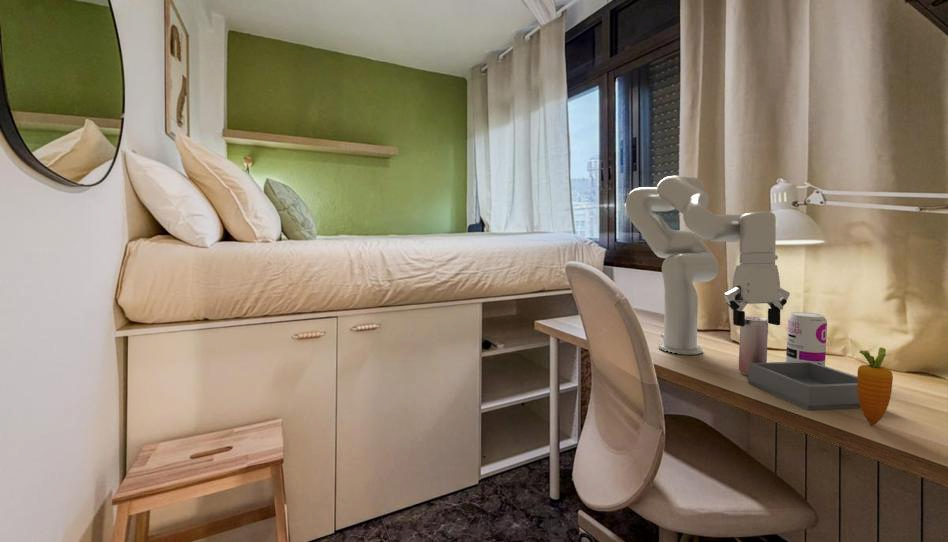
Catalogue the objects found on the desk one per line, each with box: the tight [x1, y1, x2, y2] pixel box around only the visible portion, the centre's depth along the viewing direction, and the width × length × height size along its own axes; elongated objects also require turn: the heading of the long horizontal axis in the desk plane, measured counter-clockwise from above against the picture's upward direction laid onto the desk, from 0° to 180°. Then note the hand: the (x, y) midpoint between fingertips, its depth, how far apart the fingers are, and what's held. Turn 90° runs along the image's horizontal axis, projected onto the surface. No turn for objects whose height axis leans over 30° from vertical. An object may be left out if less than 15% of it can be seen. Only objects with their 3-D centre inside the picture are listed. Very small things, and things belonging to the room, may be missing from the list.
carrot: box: [856, 346, 894, 426], centre depth 73 cm, size 5×5×15 cm
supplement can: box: [785, 311, 828, 366], centre depth 106 cm, size 8×8×15 cm
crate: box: [747, 361, 861, 411], centre depth 88 cm, size 16×16×5 cm
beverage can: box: [738, 316, 769, 377], centre depth 102 cm, size 6×6×15 cm
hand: (756, 324), depth 101 cm, fingers open, 9 cm apart
